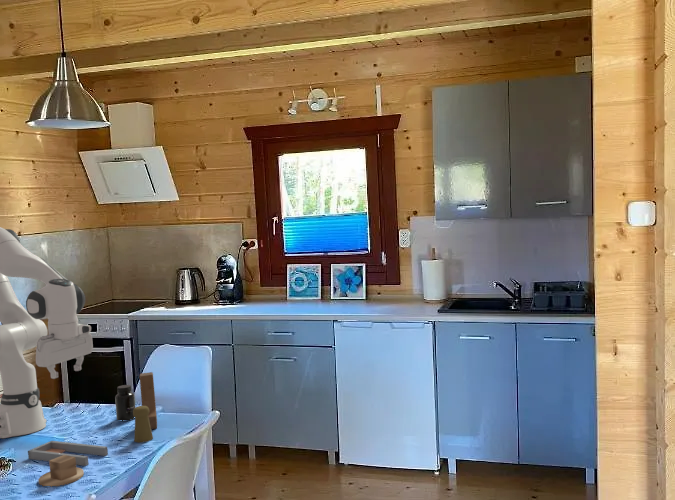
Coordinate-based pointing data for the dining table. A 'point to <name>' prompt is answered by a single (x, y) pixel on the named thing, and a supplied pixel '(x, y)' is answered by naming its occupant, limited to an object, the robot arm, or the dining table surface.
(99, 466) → the dining table surface
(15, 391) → the robot arm
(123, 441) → the dining table surface
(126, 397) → the supplement bottle
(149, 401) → the wooden block
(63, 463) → the walnut block
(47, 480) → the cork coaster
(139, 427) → the pepper shaker
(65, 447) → the channel
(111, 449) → the dining table surface
